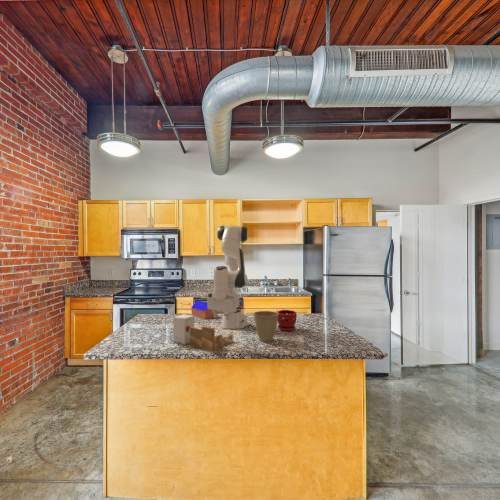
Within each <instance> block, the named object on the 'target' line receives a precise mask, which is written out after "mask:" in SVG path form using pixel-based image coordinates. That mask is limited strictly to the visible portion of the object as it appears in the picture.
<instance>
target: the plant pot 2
mask: <svg viewBox="0 0 500 500" xmlns="http://www.w3.org/2000/svg"><path fill="white" fill-rule="evenodd" d="M277 313H278V314H279V315H278V322H277V325H278V326H277V328H278V329H279V330H280V331H285V332H291V331H293V330H295V329H296V326H295V325H296V322H297V316H298V315H297V312H296V311H294V310H290V309H281V310H278V311H277Z"/></svg>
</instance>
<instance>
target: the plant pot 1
mask: <svg viewBox="0 0 500 500" xmlns="http://www.w3.org/2000/svg"><path fill="white" fill-rule="evenodd" d="M277 312H278V311H277ZM277 312H276V311H272V310H271V311H269V310H261V311H260V310H259V311H255V312H253V317H254V318H253V320H254V323H255V329H256V332H257V334H258V335H257V336H258V338H259V340H260V342H264V343H266V342H267V343H268V342H272V341H273V339H274V336H275V334H276V330H277V327H278V326H277V325H278V315H279V314H278V313H277Z"/></svg>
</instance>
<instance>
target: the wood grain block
mask: <svg viewBox="0 0 500 500" xmlns="http://www.w3.org/2000/svg"><path fill="white" fill-rule="evenodd" d="M215 333H216V332H215V327H211V326H208V325H202V326H201V328H199V327H195V326H194V327H190V342H189V345H190V346H193V347H196V348H198V349H202V350H205V351H209V352H214V351H216V350H219V349H222V348H223V345H222V336H223V334H217V335H215Z"/></svg>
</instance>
